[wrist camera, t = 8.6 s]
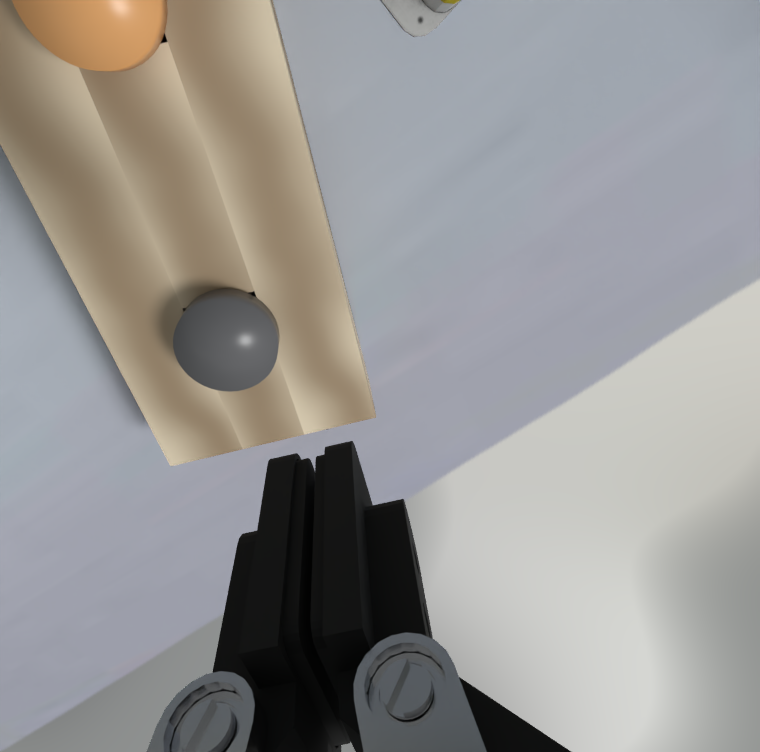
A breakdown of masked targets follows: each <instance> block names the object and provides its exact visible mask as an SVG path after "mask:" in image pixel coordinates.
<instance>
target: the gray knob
mask: <svg viewBox="0 0 760 752" xmlns="http://www.w3.org/2000/svg"><path fill="white" fill-rule="evenodd" d="M278 347H279V328H278V324H277V321H276V319H275V317H274V315H273V313H272V312H271V311H270V309H269V308H268V307H267V306H266V305H265V304H264V303H263V302H262V301H260V300H259V299H258V298H257V297H256V294H255V291H253V292H249V293H246V292H243V291H240V290H235V289H216V290H212V291H208V292H206V293H204V294H201V295H200V296H198V297H197V298H195V299H194V300H193V301H192V302H191V303H190V304H189V305H188V306H187V308H186V309H185V311H184V313H183V315H182V316H181V318H180V320H179V322H178V324H177V326H176V328H175V331H174V335H173V349H174V353H175V356H176V359H177V361H178V363H179V365H180V366H181V367H182V369H183V370H184V371H185V372H186V373H187V375H188V376H190V377H191V378H192V379H193V380H195V381H196V382H198V383H199V384H201V385H203V386H205V387H208V388H211V389H214V390H219V391H228V392H232V391H241V390H245V389H248V388H251V387H253V386H255V385H257V384H259V383H260V382H261V381H263V380H264V379H265V378H266V377H267V376H268V375H269V374H270V372H271V371H272V369H273V367H274V365H275V363H276V360H277V355H278Z"/></svg>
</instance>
